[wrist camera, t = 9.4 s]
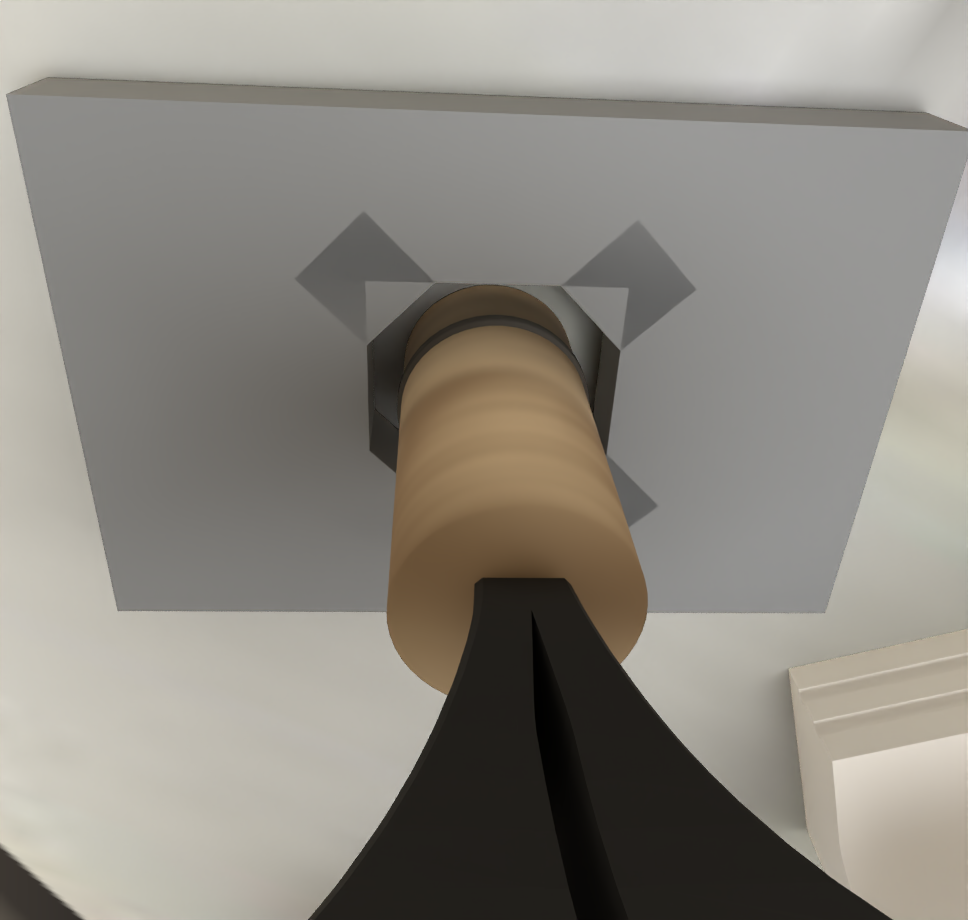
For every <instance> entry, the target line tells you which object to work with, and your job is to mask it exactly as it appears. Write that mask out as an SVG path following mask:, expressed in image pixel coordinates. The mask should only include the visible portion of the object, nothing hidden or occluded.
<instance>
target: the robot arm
mask: <svg viewBox="0 0 968 920" xmlns="http://www.w3.org/2000/svg"><path fill="white" fill-rule="evenodd" d="M308 920H893V919H891V918H890V917H888V916H887V915H885V914H884V913H882V912H881V911H879V910H878V909H876V908H875V907H874V906H872V905H871V904H869V903H868V902H866V901H865V900H863V899H862V898H860V897H859V896H857V895H856V894H854V893H853V892H851V891H850V890H849V889H847V888H846V887H844V886H843V885H841V884H840V883H838V882H837V881H835V880H834V879H833V878H831V877H830V876H829V875H827V874H826V873H825V872H823V871H822V870H821V869H820V868H818V867H817V866H816V865H814V864H813V863H812V862H810V861H809V860H808V859H807V858H805V857H804V856H803V855H801V854H800V853H799V852H798V851H796V850H795V849H794V848H792V847H791V846H790V845H789V844H787V843H786V842H785V841H784V840H783V839H782V838H780V837H779V836H778V835H777V834H776V833H775V832H774V831H772V830H771V829H770V828H769V827H768V826H767V825H765V824H764V823H763V822H762V821H761V820H760V819H759V818H757V817H756V816H755V815H754V814H753V813H752V812H751V811H749V810H748V809H747V808H746V807H745V806H744V805H743V804H741V803H740V802H739V801H738V800H737V799H736V798H735V797H734V796H733V795H732V794H731V793H730V792H729V791H728V790H727V789H726V788H725V787H724V786H723V785H722V784H721V783H720V782H719V781H718V780H717V779H716V778H715V777H714V776H713V775H712V774H711V773H710V772H709V771H708V770H707V769H706V768H705V767H704V766H703V765H702V764H701V763H700V762H699V761H698V760H697V759H696V758H695V757H694V756H693V754H692V753H691V752H690V751H689V750H688V749H687V748H686V747H685V746H684V745H683V743H682V742H681V741H680V740H679V739H678V738H677V737H676V736H675V734H674V733H673V732H672V731H671V730H670V728H669V727H668V726H667V725H666V724H665V723H664V721H663V720H662V719H661V718H660V716H659V715H658V714H657V713H656V711H655V710H654V709H653V708H652V706H651V705H650V704H649V703H648V702H647V700H646V699H645V698H644V696H643V695H642V694H641V692H640V691H639V690H638V688H637V687H636V686H635V684H634V683H633V682H632V680H631V679H630V677H629V676H628V675H627V673H626V672H625V670H624V669H623V668H622V666H621V665H620V663H619V662H618V661H617V659H616V658H615V656H614V655H613V653H612V652H611V650H610V649H609V647H608V646H607V644H606V643H605V641H604V640H603V638H602V637H601V635H600V634H599V632H598V630H597V629H596V627H595V626H594V624H593V622H592V621H591V619H590V617H589V616H588V614H587V612H586V611H585V609H584V607H583V606H582V604H581V602H580V600H579V598H578V597H577V595H576V593H575V591H574V589H573V587H572V585H571V584H570V583H569V582H568V581H567V580H566V579H565V578H481V579H480V580H479V581H477V582H476V583H475V584H474V603H473V616H472V621H471V625H470V629H469V633H468V637H467V641H466V644H465V648H464V651H463V654H462V657H461V660H460V663H459V666H458V669H457V672H456V675H455V678H454V681H453V683H452V686H451V688H450V691H449V693H448V696H447V698H446V700H445V703H444V705H443V708H442V710H441V712H440V715H439V717H438V720H437V722H436V724H435V726H434V728H433V731H432V733H431V735H430V737H429V739H428V741H427V743H426V745H425V747H424V749H423V751H422V753H421V755H420V757H419V759H418V760H417V762H416V764H415V766H414V768H413V770H412V772H411V774H410V775H409V777H408V779H407V781H406V782H405V784H404V786H403V787H402V789H401V791H400V792H399V794H398V796H397V798H396V799H395V801H394V803H393V804H392V806H391V808H390V809H389V811H388V812H387V814H386V816H385V817H384V819H383V820H382V822H381V823H380V825H379V826H378V828H377V830H376V831H375V832H374V834H373V835H372V837H371V838H370V839H369V841H368V842H367V844H366V845H365V847H364V848H363V849H362V851H361V852H360V854H359V855H358V856H357V858H356V859H355V861H354V862H353V863H352V865H351V866H350V868H349V869H348V871H347V872H346V873H345V875H344V876H343V877H342V879H341V880H340V881H339V883H338V884H337V885H336V887H335V888H334V889H333V890H332V892H331V893H330V894H329V895H328V896H327V898H326V899H325V900H324V901H323V902H322V904H321V905H320V906H319V907H318V909H317V910H316V911H315V912H314V913H313V915H312V916H311V917H310V918H309V919H308Z"/></svg>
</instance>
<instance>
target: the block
mask: <svg viewBox="0 0 968 920" xmlns="http://www.w3.org/2000/svg"><path fill="white" fill-rule="evenodd" d="M788 670H789V678H790V687H791V695H792V704H793V712H794V721H795V730H796V738H797V747H798V755H799V764H800V773H801V781H802V790H803V798H804V807H805V816H806V824H807V831H808V833H809V836H810V838H811V841H812V843H813V846H814V848H815V851H816V853H817V855H818V858H819V860H820V863H821V865H822V868H823V870H824V872H825V873H826V874H827V875H829V876H830V877H831V878H833V879H834V880H835V881H837V882H838V883H840V884H841V885H843V886H844V887H846V888H847V889H849V890H850V891H851V892H853V893H854V894H856V895H857V896H859V897H860V898H862V899H863V900H865V901H866V902H868V903H869V904H871V905H872V906H874V907H875V908H876V909H878V910H879V911H881V912H882V913H884V914H885V915H887V916H888V917H890V918H891V919H893V920H968V629H965V630H960V631H956V632H951V633H947V634H942V635H938V636H933V637H929V638H924V639H920V640H915V641H911V642H906V643H902V644H897V645H893V646H888V647H884V648H879V649H875V650H870V651H866V652H861V653H857V654H852V655H848V656H843V657H839V658H834V659H830V660H825V661H821V662H816V663H812V664H807V665H803V666H798V667H794V668H789V669H788Z"/></svg>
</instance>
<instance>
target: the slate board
mask: <svg viewBox="0 0 968 920" xmlns="http://www.w3.org/2000/svg"><path fill="white" fill-rule="evenodd" d="M6 96H7V101H8V106H9V110H10V115H11V119H12V124H13V129H14V133H15V138H16V143H17V147H18V152H19V156H20V161H21V166H22V170H23V175H24V180H25V184H26V189H27V193H28V198H29V203H30V207H31V212H32V217H33V221H34V226H35V230H36V235H37V240H38V244H39V249H40V254H41V258H42V263H43V267H44V272H45V277H46V281H47V286H48V291H49V295H50V300H51V304H52V309H53V314H54V318H55V323H56V328H57V332H58V337H59V341H60V346H61V351H62V355H63V360H64V365H65V369H66V374H67V378H68V383H69V388H70V392H71V397H72V402H73V406H74V411H75V415H76V420H77V425H78V429H79V434H80V439H81V443H82V448H83V452H84V457H85V462H86V466H87V471H88V476H89V480H90V485H91V489H92V494H93V499H94V503H95V508H96V513H97V517H98V522H99V526H100V531H101V536H102V540H103V545H104V550H105V554H106V559H107V563H108V568H109V573H110V577H111V582H112V587H113V591H114V596H115V600H116V605H117V610H118V611H289V612H387V597H388V583H389V569H390V555H391V541H392V527H393V513H394V498H395V484H396V470H397V456H398V442H399V430H398V429H396V428H395V427H394V426H393V425H392V424H391V423H390V422H388V421H387V420H386V419H385V418H384V417H383V416H382V415H381V414H379V413H378V412H377V411H376V410H375V407H374V359H373V339H374V338H375V337H377V336H378V335H379V334H380V333H381V332H382V331H383V330H384V329H385V328H386V327H387V326H389V325H390V324H391V323H392V322H393V321H394V320H395V319H396V318H397V317H398V316H399V315H401V314H402V313H403V312H404V311H405V310H406V309H407V308H408V307H409V306H410V305H411V304H413V303H414V302H415V301H416V300H417V299H418V298H419V297H420V296H421V295H422V294H423V293H425V292H426V291H427V290H428V289H429V288H430V287H431V286H432V285H433V284H434V283H466V284H503V285H541V286H561V287H562V288H563V289H564V290H565V291H566V292H567V293H568V294H569V295H570V297H571V298H572V299H573V300H574V301H575V302H576V303H577V304H578V305H579V306H580V307H581V309H582V310H583V311H584V312H585V313H586V314H587V315H588V316H589V317H590V318H591V319H592V320H593V322H594V323H595V324H596V325H597V326H598V327H599V328H600V329H601V330H602V331H603V338H602V346H601V354H600V363H599V371H598V379H597V387H596V395H595V404H594V412H593V414H592V415H593V418H594V421H595V424H596V427H597V431H598V434H599V437H600V440H601V443H602V446H603V449H604V452H605V456H606V459H607V462H608V465H609V468H610V471H611V474H612V477H613V481H614V484H615V487H616V490H617V493H618V496H619V499H620V502H621V506H622V509H623V512H624V515H625V518H626V521H627V524H628V528H629V531H630V534H631V537H632V540H633V543H634V546H635V549H636V553H637V556H638V559H639V562H640V565H641V568H642V571H643V574H644V578H645V582H646V587H647V592H648V608H647V613H825V611H826V608H827V605H828V601H829V598H830V595H831V592H832V589H833V585H834V582H835V579H836V576H837V573H838V570H839V566H840V563H841V560H842V557H843V554H844V550H845V547H846V544H847V541H848V538H849V534H850V531H851V528H852V525H853V522H854V519H855V515H856V512H857V509H858V506H859V503H860V499H861V496H862V493H863V490H864V487H865V484H866V480H867V477H868V474H869V471H870V468H871V464H872V461H873V458H874V455H875V452H876V448H877V445H878V442H879V439H880V436H881V433H882V429H883V426H884V423H885V420H886V417H887V413H888V410H889V407H890V404H891V401H892V397H893V394H894V391H895V388H896V385H897V382H898V378H899V375H900V372H901V369H902V366H903V362H904V359H905V356H906V353H907V350H908V347H909V343H910V340H911V337H912V334H913V331H914V327H915V324H916V321H917V318H918V315H919V311H920V308H921V305H922V302H923V299H924V296H925V292H926V289H927V286H928V283H929V280H930V276H931V273H932V270H933V267H934V264H935V260H936V257H937V254H938V251H939V248H940V245H941V241H942V238H943V235H944V232H945V229H946V225H947V222H948V219H949V216H950V213H951V209H952V206H953V203H954V200H955V197H956V194H957V190H958V187H959V184H960V181H961V178H962V174H963V171H964V168H965V165H966V162H967V159H968V129H967V128H965V127H962V126H960V125H957V124H955V123H952V122H949V121H947V120H944V119H942V118H939V117H936V116H934V115H931V114H929V113H922V112H897V111H872V110H847V109H822V108H797V107H772V106H747V105H722V104H697V103H672V102H647V101H622V100H597V99H572V98H547V97H522V96H497V95H472V94H447V93H422V92H397V91H372V90H347V89H322V88H297V87H273V86H248V85H223V84H198V83H173V82H148V81H123V80H98V79H73V78H45V79H43V80H40V81H38V82H35V83H33V84H30V85H28V86H25V87H23V88H20V89H18V90H15V91H13V92H10V93H8V94H6Z"/></svg>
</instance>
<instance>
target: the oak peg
mask: <svg viewBox="0 0 968 920" xmlns="http://www.w3.org/2000/svg"><path fill="white" fill-rule="evenodd" d="M397 414H398V423H399V442H398V456H397V470H396V484H395V498H394V513H393V527H392V541H391V555H390V569H389V583H388V597H387V624H388V629H389V633H390V637H391V639H392V642H393V644H394V647H395V649H396V650H397V652H398V654H399V655H400V657H401V659H402V660H403V661H404V662H405V664H406V665H407V666H408V667H409V668H410V670H411V671H413V672H414V673H415V674H416V675H417V676H418V677H419V678H420V679H421V680H423V681H424V682H426V683H427V684H429V685H430V686H431V687H433V688H435V689H437V690H439V691H441V692H442V693H444V694H446V695H448V693H449V691H450V688H451V686H452V683H453V681H454V678H455V675H456V672H457V669H458V666H459V663H460V660H461V657H462V654H463V651H464V648H465V644H466V641H467V637H468V633H469V629H470V625H471V621H472V616H473V603H474V584H475V583H476V582H477V581H479V580H480V579H481V578H565V579H566V580H567V581H568V582H569V583H570V584H571V585H572V587H573V589H574V591H575V593H576V595H577V597H578V598H579V600H580V602H581V604H582V606H583V607H584V609H585V611H586V612H587V614H588V616H589V617H590V619H591V621H592V622H593V624H594V626H595V627H596V629H597V630H598V632H599V634H600V635H601V637H602V638H603V640H604V641H605V643H606V644H607V646H608V647H609V649H610V650H611V652H612V653H613V655H614V656H615V658H616V659H617V661H618V662H619V663H620V664H621V662H622V661H623V660H624V659H625V658H626V657H627V656H628V654H629V653H630V652H631V650H632V649H633V647H634V646H635V644H636V642H637V640H638V638H639V636H640V634H641V632H642V630H643V626H644V623H645V620H646V615H647V608H648V592H647V587H646V582H645V578H644V574H643V571H642V568H641V565H640V562H639V559H638V556H637V553H636V549H635V546H634V543H633V540H632V537H631V534H630V531H629V528H628V524H627V521H626V518H625V515H624V512H623V509H622V506H621V502H620V499H619V496H618V493H617V490H616V487H615V484H614V481H613V477H612V474H611V471H610V468H609V465H608V462H607V459H606V456H605V452H604V449H603V446H602V443H601V440H600V437H599V434H598V431H597V427H596V424H595V421H594V418H593V415H592V412H591V409H590V406H589V393H588V388H587V384H586V381H585V378H584V375H583V372H582V369H581V367H580V364H579V363H578V361H577V359H576V357H575V355H574V354H573V352H572V349H571V346H570V343H569V340H568V337H567V334H566V332H565V330H564V328H563V326H562V324H561V322H560V321H559V319H558V318H557V317H556V315H555V314H554V313H553V312H552V311H551V310H550V309H549V308H548V307H547V306H546V305H545V304H544V303H542V302H541V301H540V300H538V299H537V298H535V297H533V296H532V295H530V294H528V293H525V292H523V291H520V290H518V289H514V288H510V287H506V286H498V285H481V286H473V287H469V288H465V289H461V290H459V291H456V292H454V293H451V294H449V295H448V296H446V297H444V298H442V299H441V300H439V301H438V302H436V303H435V304H434V305H432V306H431V307H430V308H429V309H428V310H427V311H426V312H425V313H424V314H423V315H422V317H421V318H420V319H419V320H418V322H417V323H416V325H415V327H414V328H413V330H412V332H411V335H410V337H409V339H408V343H407V346H406V350H405V359H404V372H403V375H402V379H401V382H400V386H399V393H398V404H397Z"/></svg>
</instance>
